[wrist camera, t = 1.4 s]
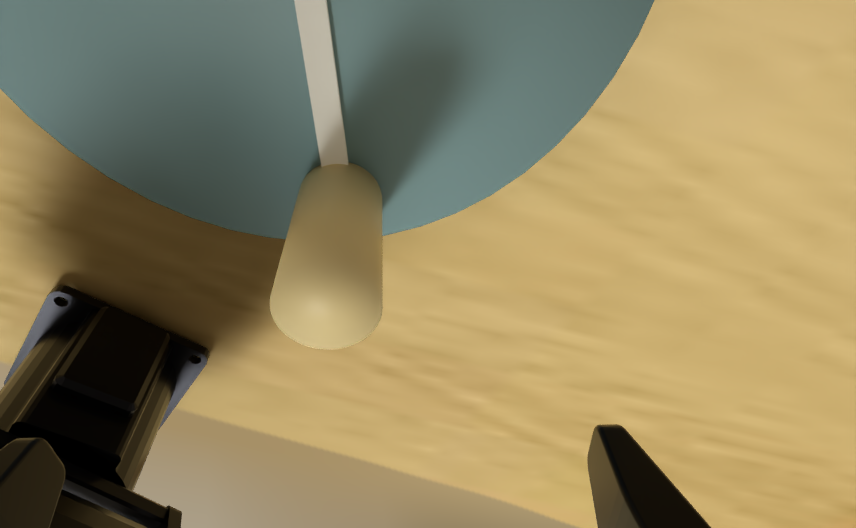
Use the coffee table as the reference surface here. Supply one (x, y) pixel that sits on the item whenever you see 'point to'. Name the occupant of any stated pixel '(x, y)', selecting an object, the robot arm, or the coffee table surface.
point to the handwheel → (314, 116)
